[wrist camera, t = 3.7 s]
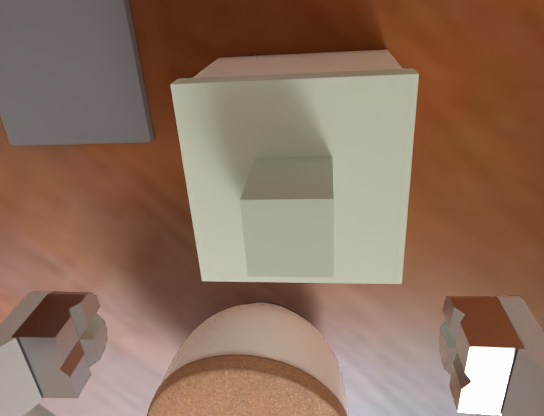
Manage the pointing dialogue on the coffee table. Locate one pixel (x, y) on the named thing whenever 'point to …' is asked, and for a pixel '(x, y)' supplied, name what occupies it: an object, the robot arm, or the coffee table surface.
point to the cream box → (300, 63)
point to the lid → (299, 174)
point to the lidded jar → (253, 368)
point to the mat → (71, 73)
